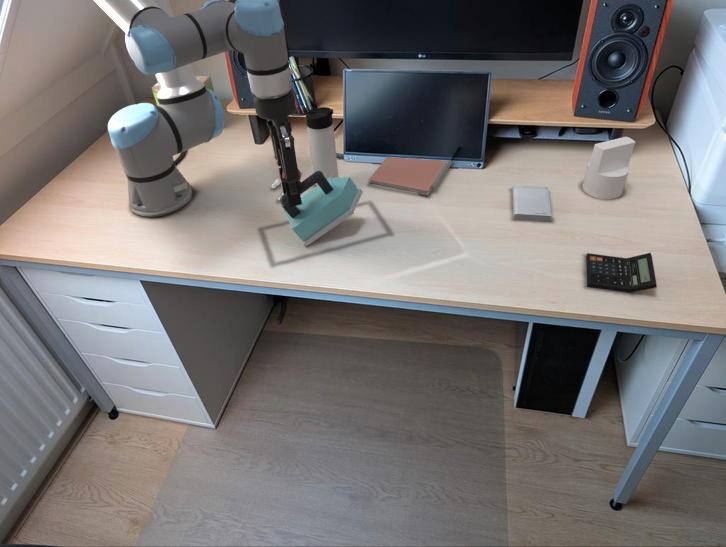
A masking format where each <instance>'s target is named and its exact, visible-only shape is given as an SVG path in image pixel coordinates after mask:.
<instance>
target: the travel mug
mask: <svg viewBox="0 0 726 547" xmlns="http://www.w3.org/2000/svg"><path fill="white" fill-rule="evenodd" d="M333 114H334V109H333V108H330V107H327V106H326V107H325V106H320V107H316V108H313V109H310V110H309V111H308V112H307V113H306V115H305V123H306V130H307V137H308V145H309V152H310V159H311V167H312V174H313V173H315V172H316V171H321V172H322V173H323V175H324V177H325V178H326V179H328V178H329V177H330V178H339V167H338V158H337V148H336V138H335V129H334V122H333V121H334V120H333ZM314 186H315V187H316V186H318V184H317V183H316V184H315V185H314Z"/></svg>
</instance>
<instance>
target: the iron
mask: <svg viewBox="0 0 726 547" xmlns="http://www.w3.org/2000/svg"><path fill="white" fill-rule="evenodd" d="M298 172H299V176H300V180H298V184H299V189H300V195H302V194H303V195H302V196H301V201H302V204H301V205H297V206H293V207H289V204H288V199H287V194H286V193H285V194H284V195H282V196H281V195H280V196H281V198H280V200H279V201H280V202H279V203H280V205H281V207H282V209H283V211H284V214H285V216H286V218H287V220H288V223H289V225H290V228H291V230H293V232H294V233H295V234H296V235H297V237H298V238H300V241H301V244H302V245H303V246H304V247H305V248H306V247H308V246H309V245H311V244H312V243H314V242H315V241H316V240H318V239H320V238H321V237H323V236H324V235H325V234H327V233H328V232H329V231H331V230H332V229H334V228H336V227H337V226H339V224H341V223H342V222H344V221H345V220H347V219H348V218H350V217H351V216H352V215H354V214H355V211H356V208H357V206H358V203H359V202H360V199H361V197H362V195H363V193H364V191H363V190H362V188H360V187H359V188H358V186H357V185H356V183H355V182H354V180H353V179H352V178H351V177H350V176H340V177H339V178H330V177H329V178H328V179H326V178H325V177H324V175H323V173H322V172H321V171H316V172H315V173H313V172H312V174H310V175H309V176H308V177H306V178H305V179H304V180H302V181H301V178H302V173H301V170H300V169H299V168H298ZM282 177H283V178H284V173H282ZM316 183H317V184H318V186H315V184H316ZM314 186H315V187H314ZM312 187H314V188H312ZM310 188H311V190H309V189H310ZM308 190H309V191H308ZM307 191H308V192H307ZM305 192H307V193H305ZM304 193H305V194H304Z"/></svg>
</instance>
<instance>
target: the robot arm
mask: <svg viewBox="0 0 726 547" xmlns="http://www.w3.org/2000/svg"><path fill="white" fill-rule="evenodd" d="M93 1H94V2H95V3H96V4H97V6H98V7H99V8H101V10H102V11H103V12H104V13H105V14H106V15H107V16H108V17H109V18H110V20H112V21H113V22H114V23H115V24H116V26H118V27H119V29H121V30H122V32H123V33H124V34H125V35H124V42H125V46H126V50H127V53H128V56H129V57H130V59H131V60H132V62H133V63H134V65H135V67H136V68H137V69H138V71H140V72H141V73H142V74H144V75H147V76H155V79H156V81H157V83H158V84H159V86H160V89H159V91H158V93H157V95H156V97H157V99H158V102H159V106H157V105H156V106H155V105H154V104H152V103H150V102H140V103H139V102H138V103H134V104H130V105H127V106H125V107H123V108H121V109H119V110H118V111H117V112H115V113H114V114H113V115H112V116H111V117H110V119H109V120H108V123H107V131H108V134H109V138H110V141H111V145H112V147H113V148H114V150H115V153H116V155H117V157H118V160H119V162H120V164H121V166H122V169H123V172H124V173H125V177H126V179H127V190H128V192H127V193H128V205H129V207H130V209H131V210H132V212H133V213H134V214H136V215H138V216H140V217H147V218H148V217H149V218H151V217H153V218H154V217H162V216H165V215H169V214H172V213H175V212H177V211H179V210H181V209H182V208H184V207H185V206H187V204H189V202H190V201H191V200H192V197H193V190H192V187H191V184H190V183H189V181H188V180H187V179H186V178H185V177H184V175H183V173H182V172H181V171H180V170H179V169H178V168H177V166H176V164H177V163H178V162H179V161H180V160H181V159H183V156H184V155H185V152H186V151H188V150H190V149H193V148H196V147H197V146H200V145H202V144H206V143H208V142H210V141H211V140H213V139H215V138H218V137H219V136H220V135H221V134H222V133H223V130H224V128H225V113H224V108H223V106H222V103H221V100H220V99H219V98H218V95H217V94H216V92H215V91H214V92H213V91H212V90H210V89H207V88H206V87H205V84H204V83H203V82H201V81H199V80H198V79H196V78H195V76H196V75H195V72H194V69H193V67H192V63H195V62H199V61H202V60H205V59H207V58H211V57H213V56H217V55H220V54H224V53H226V52H229V51H234V52H237V53H240V54H242V55H243V59H244V63H245V66H246V73H247V74H246V75H247V78H248V83H249V88H250V92H251V94H252V100H253V106H254V110H255V113H256V115H257V116H258V117H259V118H261V119H263V120H266V126H267V128H268V131H269V136H270V140H271V144H272V150H273V154H274V159H275V161H276V165H277V166H278V172H279V179H280V180H281V181H280V185H281V189H282V193H283V194H285V193H286V194H287V199H288V204H289V207H293V206H297V205H301V204H302V201H301V197H302V196H301V195H302V194H301V195H300V189H299V184H298V180H300V181H301V178H300V176H299V172H298V169H299V166H298V161H297V154H296V148H295V137H294V136H293V135H292V131H293V129H292V125H291V121H289V120H288V117H290V116H292V114H294V113H295V112H296V109H297V105H296V98H295V92H294V90H293V89H292V88H293V82H292V76H291V75H293V74H294V69H293V68H290V61H289V55H288V54H289V53H288V48H287V40H286V33H285V23H284V19H283V18H282V17H283V16H282V14H281V13H282V12H281V8H280V3H279V1H278V0H235V2H234V3H233V2H231V1H229V0H208V1H206V2H204V3H203V4H202V6H201V7H200V8H199V9H197V10H193V11H190V12H186V13H182V14H178V15H174V12H173V9H172V7H171V2H170V0H93ZM178 154H179V155H178ZM175 155H178V157H176V159H175V160H174V156H175ZM282 173H284V178H283V177H282Z"/></svg>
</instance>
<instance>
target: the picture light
mask: <svg viewBox="0 0 726 547" xmlns="http://www.w3.org/2000/svg"><path fill="white" fill-rule="evenodd" d="M280 185H281V179H280V178H276V179H275V180H274V182H273V183H272V184H271V186H270V188H271V189H274V190H276V189H277V187H279V186H280ZM282 195H284V194H283V192H282V193H281V195H279V197H278V199H277V200H278V201H280V198H281V196H282Z"/></svg>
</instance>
